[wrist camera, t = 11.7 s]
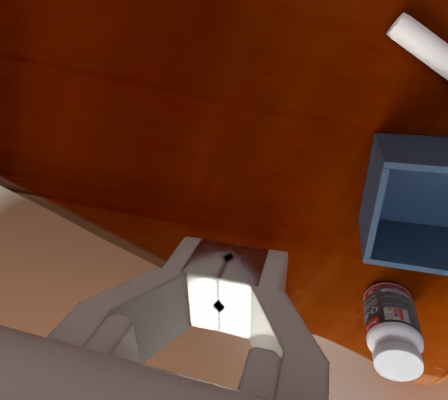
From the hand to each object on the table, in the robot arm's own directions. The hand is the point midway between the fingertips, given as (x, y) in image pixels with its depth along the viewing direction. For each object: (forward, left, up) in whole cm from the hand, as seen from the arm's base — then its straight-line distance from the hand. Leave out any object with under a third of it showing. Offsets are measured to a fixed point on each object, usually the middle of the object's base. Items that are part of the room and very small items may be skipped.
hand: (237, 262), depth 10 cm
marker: (-1, +14, -29) cm, 33 cm away
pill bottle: (+25, +12, -29) cm, 40 cm away
